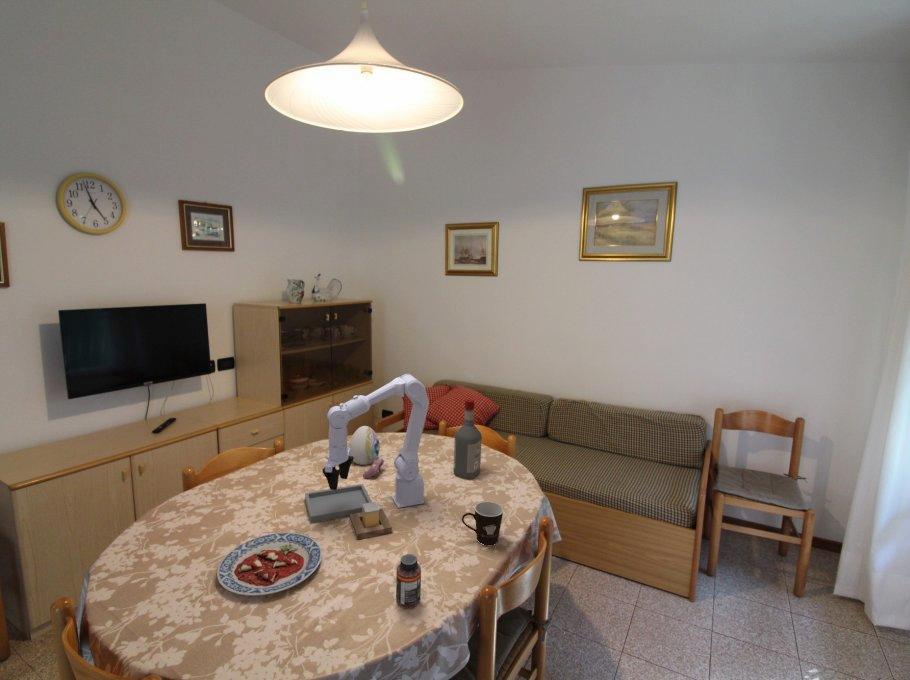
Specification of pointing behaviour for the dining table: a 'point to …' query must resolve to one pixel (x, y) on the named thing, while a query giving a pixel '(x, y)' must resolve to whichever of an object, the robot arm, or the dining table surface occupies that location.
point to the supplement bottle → (408, 582)
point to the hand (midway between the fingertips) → (338, 483)
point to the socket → (372, 531)
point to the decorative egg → (364, 446)
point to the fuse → (370, 514)
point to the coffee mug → (487, 522)
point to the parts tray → (336, 502)
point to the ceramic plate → (269, 564)
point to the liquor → (467, 446)
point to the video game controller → (374, 468)
